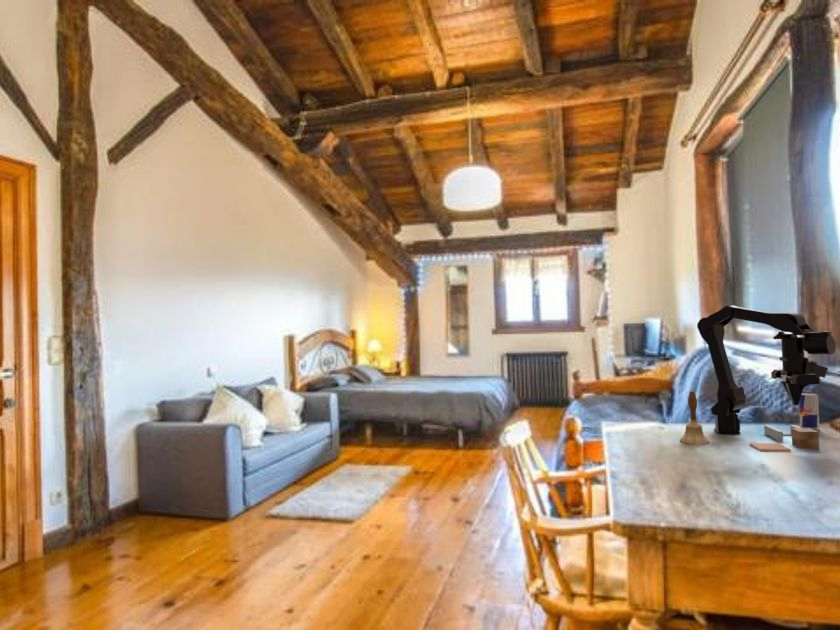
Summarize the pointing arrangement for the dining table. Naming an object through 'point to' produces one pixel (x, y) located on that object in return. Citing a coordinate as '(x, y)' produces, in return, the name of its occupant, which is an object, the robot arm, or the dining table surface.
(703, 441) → the hand bell
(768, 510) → the dining table surface
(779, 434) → the channel
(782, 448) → the coaster
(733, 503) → the dining table surface
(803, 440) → the walnut block
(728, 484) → the dining table surface
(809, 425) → the energy drink
